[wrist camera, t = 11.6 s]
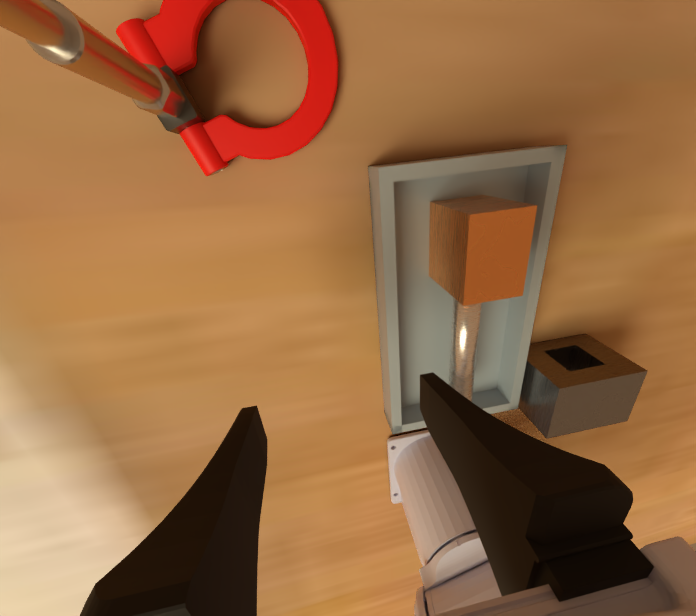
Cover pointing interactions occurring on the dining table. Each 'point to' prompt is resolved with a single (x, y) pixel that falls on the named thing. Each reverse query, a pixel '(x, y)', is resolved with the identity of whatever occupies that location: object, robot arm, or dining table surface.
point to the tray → (430, 298)
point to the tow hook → (181, 70)
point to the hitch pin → (477, 266)
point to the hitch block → (577, 385)
